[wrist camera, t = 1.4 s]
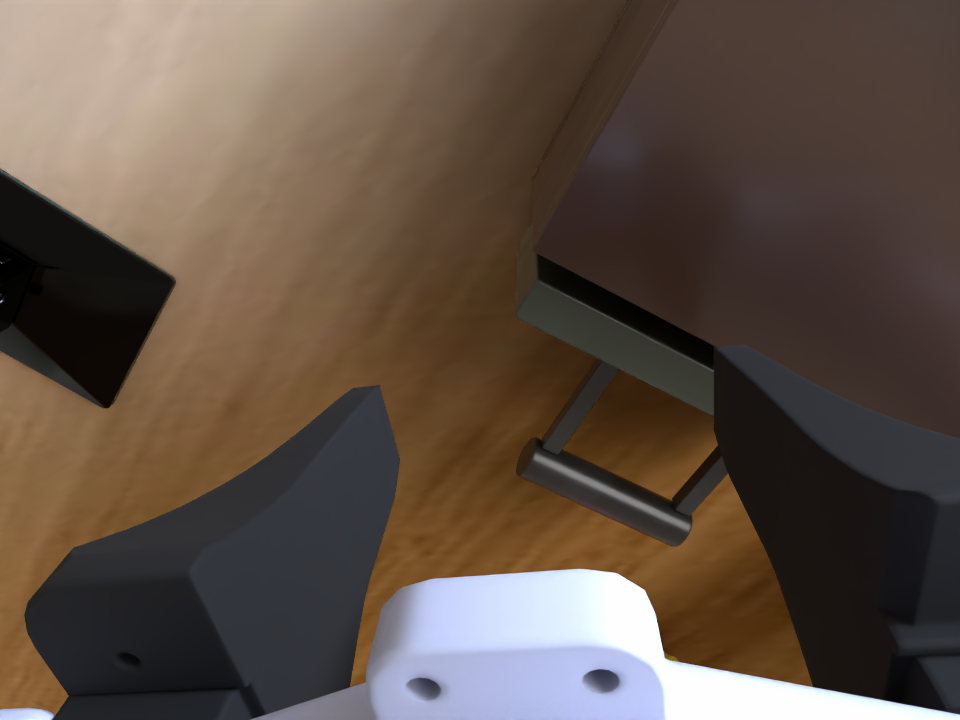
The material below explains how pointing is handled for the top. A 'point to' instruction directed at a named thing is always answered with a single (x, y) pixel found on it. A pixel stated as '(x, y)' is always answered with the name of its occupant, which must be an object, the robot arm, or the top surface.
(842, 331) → the cabinet
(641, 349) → the drawer
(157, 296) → the black block on plate
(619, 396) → the top surface
